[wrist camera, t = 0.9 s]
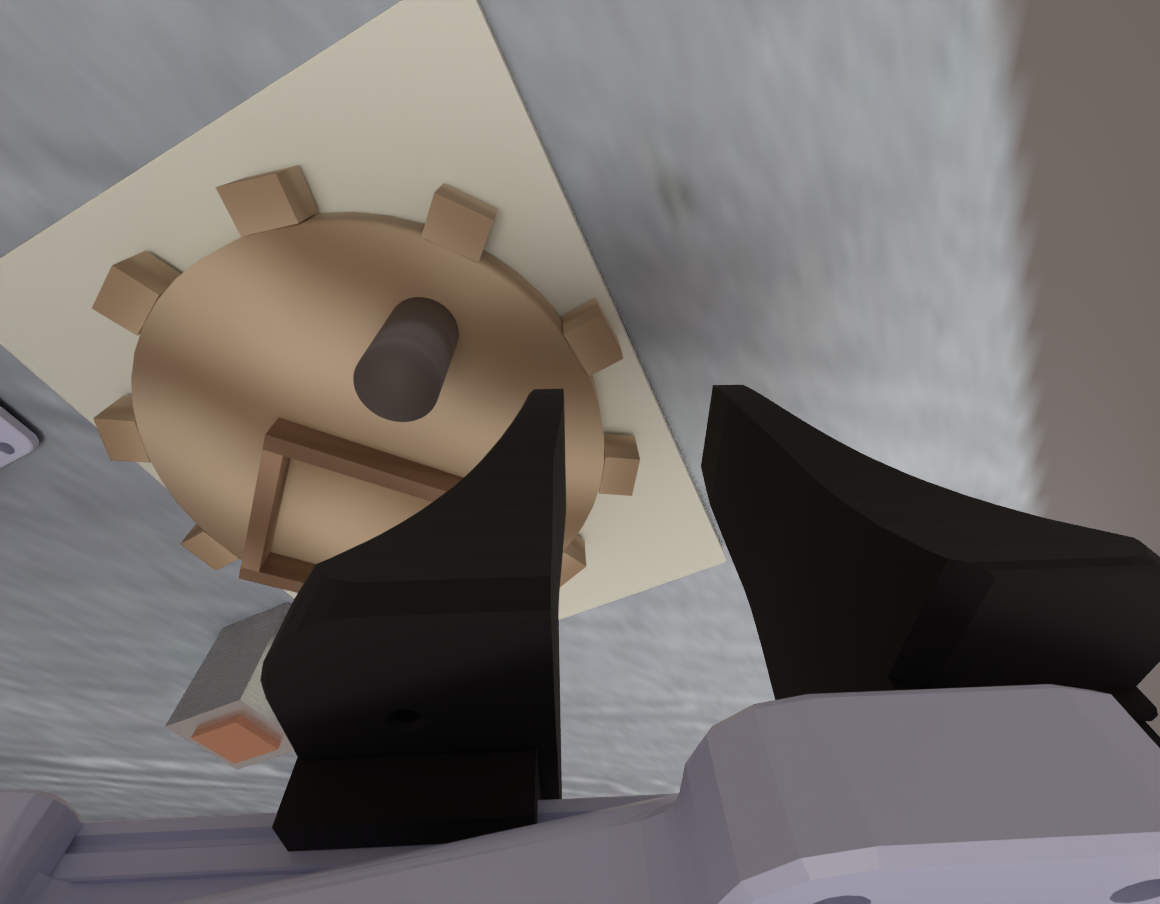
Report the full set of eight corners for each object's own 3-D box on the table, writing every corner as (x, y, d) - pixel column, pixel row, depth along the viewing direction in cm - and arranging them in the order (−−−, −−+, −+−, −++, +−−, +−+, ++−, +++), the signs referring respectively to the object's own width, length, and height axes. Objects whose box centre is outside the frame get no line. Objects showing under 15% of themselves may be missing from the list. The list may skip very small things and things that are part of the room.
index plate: (391, 662, 29) (382, 693, 28) (-29, 284, 18) (-82, 303, 16) (721, 545, 25) (732, 574, 24) (465, -30, 14) (454, -43, 12)
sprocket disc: (130, 36, 13) (-57, 19, 9) (724, 315, 18) (776, 387, 14) (120, 534, 22) (20, 641, 18) (523, 637, 27) (519, 741, 22)
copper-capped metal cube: (281, 671, 29) (233, 776, 25) (223, 627, 27) (160, 734, 23) (343, 648, 28) (305, 753, 24) (288, 601, 26) (236, 706, 22)
